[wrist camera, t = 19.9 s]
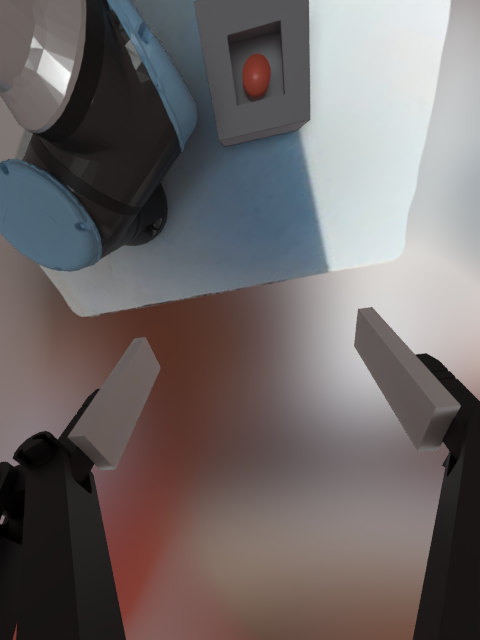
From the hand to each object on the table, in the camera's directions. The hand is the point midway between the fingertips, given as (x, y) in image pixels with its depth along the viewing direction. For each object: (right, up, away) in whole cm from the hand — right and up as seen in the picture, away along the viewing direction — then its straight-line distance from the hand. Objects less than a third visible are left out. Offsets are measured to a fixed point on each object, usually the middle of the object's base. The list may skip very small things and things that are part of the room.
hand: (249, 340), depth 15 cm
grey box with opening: (+2, +36, +20) cm, 42 cm away
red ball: (+2, +35, +19) cm, 40 cm away
